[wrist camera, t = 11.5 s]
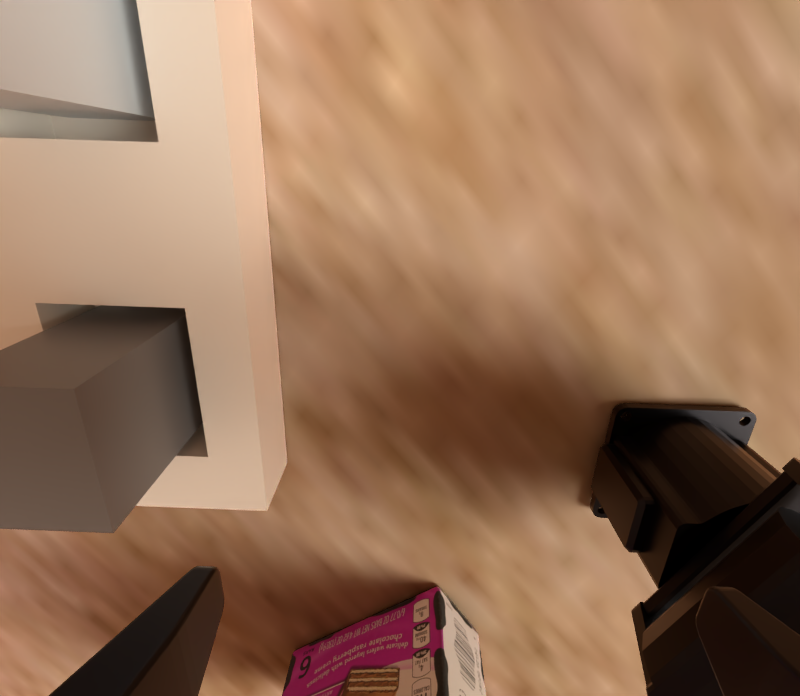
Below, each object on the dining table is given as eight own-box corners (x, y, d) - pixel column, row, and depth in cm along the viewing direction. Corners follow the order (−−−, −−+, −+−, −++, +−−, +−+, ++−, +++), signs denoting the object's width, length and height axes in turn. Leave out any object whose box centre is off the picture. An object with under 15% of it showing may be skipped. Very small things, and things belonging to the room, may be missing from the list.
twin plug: (202, 303, 19) (74, 388, 12) (216, 405, 21) (113, 533, 14) (110, 300, 19) (-74, 383, 12) (133, 402, 21) (-15, 527, 14)
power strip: (237, -176, 14) (178, -290, 10) (287, 462, 23) (265, 515, 20) (-80, -184, 14) (-243, -300, 11) (93, 455, 23) (37, 506, 20)
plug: (153, -47, 15) (-102, -257, 7) (176, 122, 17) (-10, 87, 9) (33, -51, 15) (-339, -265, 8) (70, 117, 17) (-200, 79, 9)
